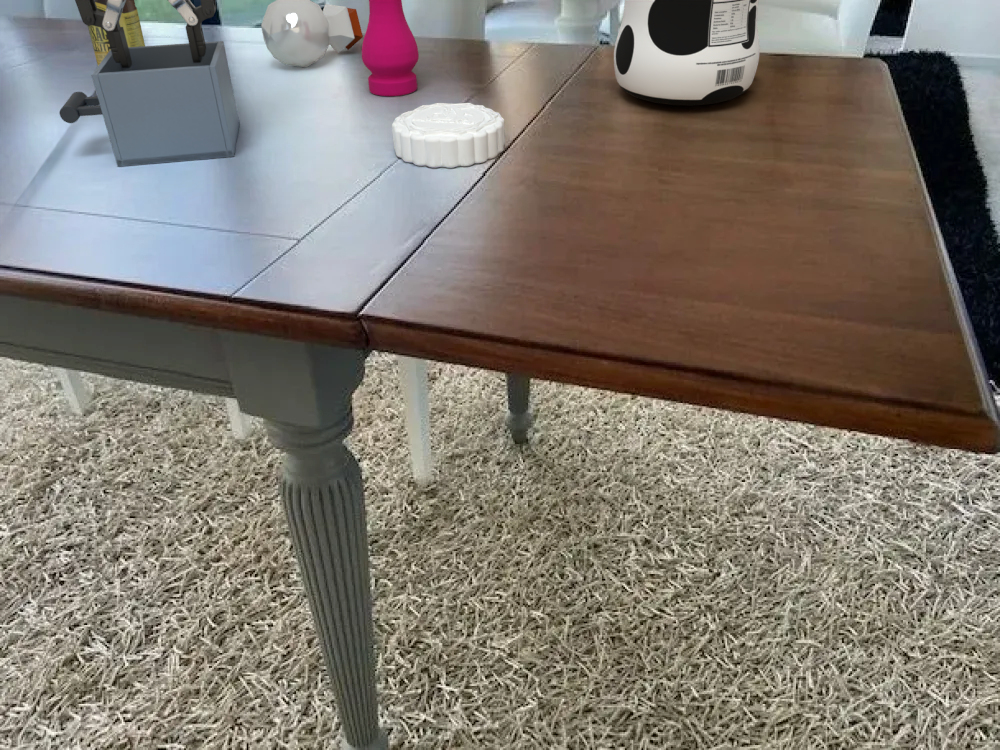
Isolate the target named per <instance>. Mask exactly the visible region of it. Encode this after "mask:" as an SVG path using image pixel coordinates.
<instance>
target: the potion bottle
mask: <svg viewBox="0 0 1000 750" xmlns="http://www.w3.org/2000/svg"><path fill="white" fill-rule="evenodd" d="M260 27H261V32H262V38H263V42H264V44H265V46H266V49H267V51H269V53H270V54H271V56H272V57H273V58H274V59H276V60H277V61H279V62H280V63H282V64H283V65H285V66H291V67H298V68H299V67H300V68H308V67H310V66H311V65H313V64H314V63H316V62H317V61H319V60H321V59H322V58H324V56H325V54H326V52H327V50H328V48H329V46H331V48H333V50H334V51H335V52H336V53H337V54H340V53H341V52H342V51H343V50H344V49H346V50H347V51H349V50H350V49H352V48H353V47H354V46H355V45H356V44H357V43H358V42H360V40H361V39H363V38H364V36H363V31H362V27H361V24H360V19H359V15H358V11H357V8H350V7H347V6H342V5H336V4H335V5H334V4H328V3H324V6H323V9H322V8H321V6H320V5H319V4H318V3H317V2H315V1H312V0H274V1H273V2H271V3H269V4H268V5H267V8H266V10H265V13H264V16H263V19H262V21H261V24H260Z"/></svg>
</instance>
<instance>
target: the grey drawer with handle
mask: <svg viewBox="0 0 1000 750" xmlns="http://www.w3.org/2000/svg"><path fill="white" fill-rule="evenodd" d="M205 44H206V53H205V56H204V57H202V60H201V63H193V59H192V55H191V50H190V45H189V42H187V43H174V44H173V43H171V44H159V45H158V44H157V45H145V46H141V47H128V48H129V52H130V56H131V60H132V65H131V67H130V68H122V66H121V63H116V62H115V60H114V59H113V56H112V52H111V50H110V51H109V52H108V54H107V55H106V56H105V58H104V59H103V60H102V62H101V63H100V64H99V66H98V65H97V67H96V68H95V70H93V72H92V74H91V79H92V82H93V85H94V89H95V93H96V95H95V96H88V95H87V94H86V93H85V92H82V91H74V92H73V93H72V94H70V96H69V97H68V99H67V100H66V102H64V104H63V106H62V107H61V108H60V110H59V117H60V118H61V120H62V121H63V122H65V123H68V124H75V123H77V121H78V120H79V119H80V117H86V116H87V117H88V116H100V115H102V117H103V121H104V124H105V127H106V131H107V134H108V138H109V142H110V145H111V149H112V152H113V155H114V159H115V163H116V166H117V167H119V168H120V167H129V166H139V165H140V166H142V165H152V164H162V163H163V164H164V163H175V162H186V161H198V160H209V159H211V160H212V159H220V158H221V159H222V158H223V159H224V158H234V157H235V152H236V146H237V142H238V136H239V131H240V126H241V123H240V119H239V118H240V117H239V112H238V109H237V102H236V98H235V92H234V88H233V83H232V78H231V73H230V68H229V64H228V58H227V53H226V47H225V42H224V40H218V41H205Z"/></svg>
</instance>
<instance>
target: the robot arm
mask: <svg viewBox="0 0 1000 750" xmlns="http://www.w3.org/2000/svg"><path fill="white" fill-rule="evenodd" d="M74 1H75V5H76V7H77V10H78V12H79V16H80V19H81V21H82V23H83V24H84V25H85V26H87V27H88V26H92V25H93V26H97V27H100V28H102V29H103V30H104V31H105V32H106V34H107V37H108V41H109V45H110V48H111V52H112V56H113V59H114V60H115V62H116V63H121V66H122V68H130V67H131V65H132V60H131V56H130V52H129V48H128V44H127V40H126V36H125V32H124V29H123V27H120V24H119V21H120V17H121V14H122V10H123V7H124V5H125V2H126V0H108V1H107V7H106V11H105V13H104V12H100V11H98V9H97V6H96V3H95V1H94V0H74ZM167 1H168V3H169V4H170V5H171V6H172V7H173V9H175V10H176V11H177V13H178V14H179V15H180V16H181V17H182V19H183V21H185V23H186V26H185V31H186V36H187V40H188V41H187V42H188V43H189V45H190V50H191V55H192V59H193V63H201V60H202V57H204V56H205V53H206V44H205V42H206V39H205V35H204V30H203V26H202V23H203V22H204V21H205V20H208V19H211V18H213V17H214V16H215V14H216V11H217V2H216V0H200V5H198V6H195V4H193V3H192V1H191V0H167Z"/></svg>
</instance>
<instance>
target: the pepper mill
mask: <svg viewBox="0 0 1000 750" xmlns="http://www.w3.org/2000/svg"><path fill="white" fill-rule="evenodd" d="M368 6H369V8H368V10H369V13H368V15H369V16H368V22H367V27H366V30H365V34H364V36H363V40H362V46H361V60H362V63H363V65H364V66H365V67H366V68H367V69H368V71H369V72H370V73H371V74H370V75H369V76H368V77H367V82H368V90H369V92H370V93H371V94H372V95H375V96H379V97H400V96H401V97H402V96H406V95H410V94H413V93H414V92H415V91H417V89H418V78H417V74H416V73H415V72H414V71H413V70H414V67H416V65H417V63H418V62H419V59H420V57H419V55H420V53H419V48H418V44H417V41H416V38H415V36H414V34H413V32H412V30H411V28H410V26H409V23H408V20H407V19H406V15H405V13H404V7H403V2H402V0H368Z"/></svg>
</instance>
